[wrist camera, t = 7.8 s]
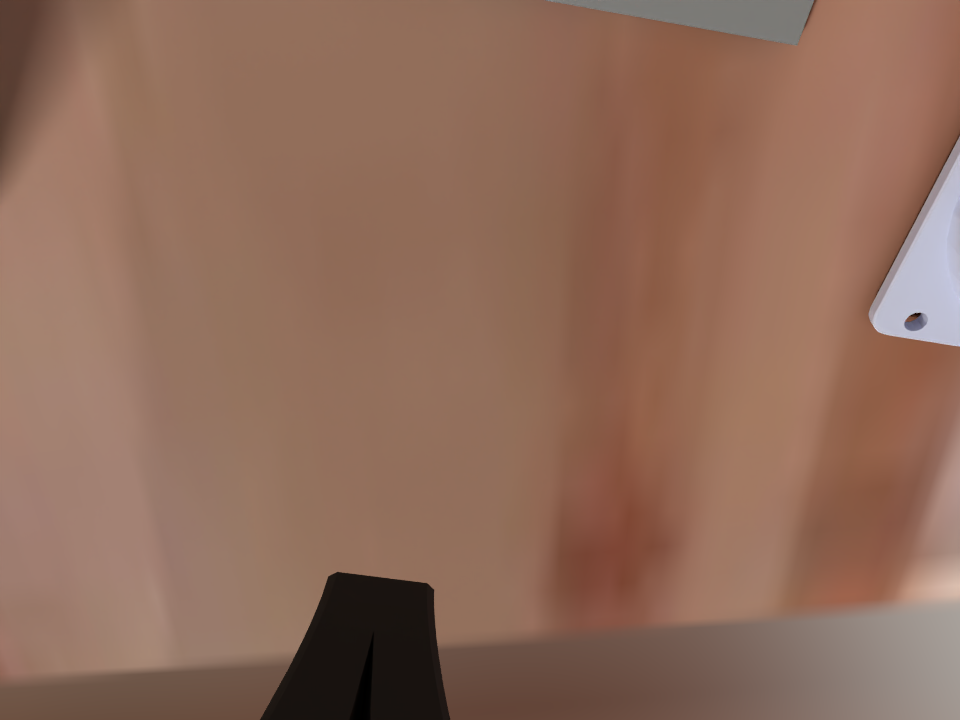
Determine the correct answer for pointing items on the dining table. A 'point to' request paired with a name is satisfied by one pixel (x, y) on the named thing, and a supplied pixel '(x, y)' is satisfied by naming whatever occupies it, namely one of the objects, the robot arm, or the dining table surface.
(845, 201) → the dining table surface
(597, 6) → the mat
